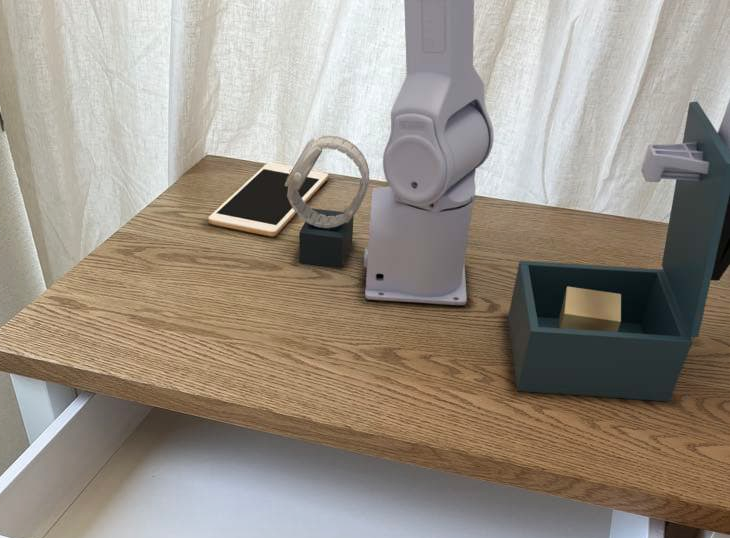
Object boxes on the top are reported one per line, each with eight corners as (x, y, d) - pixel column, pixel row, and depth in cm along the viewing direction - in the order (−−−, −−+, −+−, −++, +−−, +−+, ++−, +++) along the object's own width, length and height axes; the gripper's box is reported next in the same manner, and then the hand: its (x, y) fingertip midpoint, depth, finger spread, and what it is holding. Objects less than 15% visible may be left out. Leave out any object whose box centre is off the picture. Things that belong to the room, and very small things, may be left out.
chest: (516, 391, 68) (530, 331, 64) (507, 317, 76) (519, 260, 72) (668, 401, 68) (692, 341, 64) (643, 326, 76) (663, 269, 71)
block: (552, 360, 70) (564, 313, 67) (555, 332, 73) (567, 286, 70) (606, 368, 70) (621, 321, 66) (606, 340, 73) (621, 293, 69)
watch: (293, 235, 86) (292, 124, 79) (369, 244, 85) (376, 133, 77) (280, 260, 83) (277, 147, 75) (358, 270, 82) (365, 156, 74)
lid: (727, 163, 54) (736, 162, 54) (689, 101, 62) (697, 101, 62) (690, 338, 63) (698, 337, 63) (661, 265, 71) (668, 265, 71)
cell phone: (329, 178, 96) (329, 173, 96) (274, 237, 86) (274, 231, 85) (267, 167, 98) (267, 161, 98) (207, 223, 87) (206, 218, 87)
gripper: (868, 74, 58) (785, 255, 68) (659, 63, 59) (607, 244, 69) (908, 110, 53) (813, 299, 63) (680, 97, 54) (621, 287, 64)
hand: (707, 274), depth 66 cm, fingers closed
